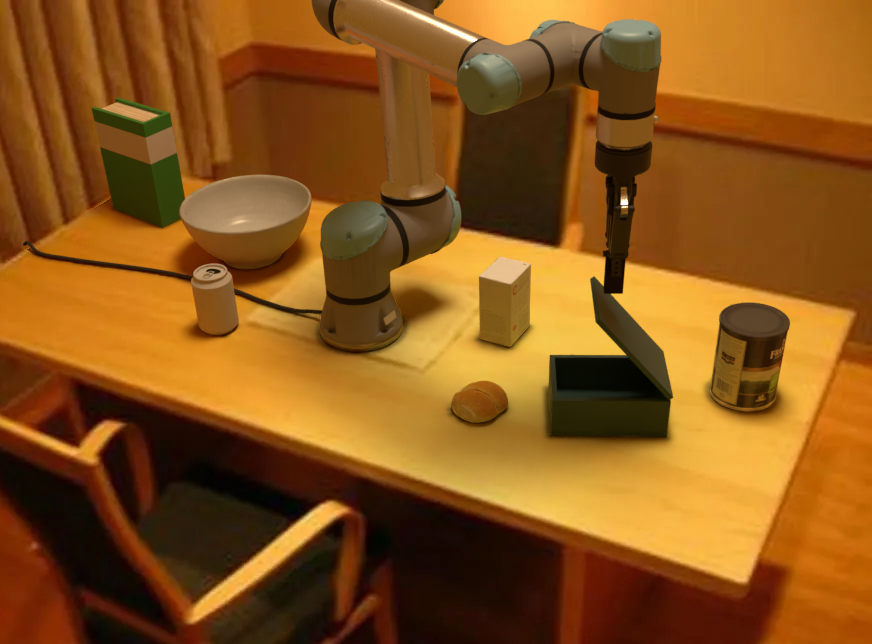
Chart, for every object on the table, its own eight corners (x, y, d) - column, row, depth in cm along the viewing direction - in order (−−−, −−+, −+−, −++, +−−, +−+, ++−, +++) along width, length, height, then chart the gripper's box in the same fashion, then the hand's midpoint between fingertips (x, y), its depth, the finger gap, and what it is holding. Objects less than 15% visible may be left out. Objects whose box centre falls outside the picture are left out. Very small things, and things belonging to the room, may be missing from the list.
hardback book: (113, 208, 248) (91, 108, 234) (138, 196, 252) (118, 97, 239) (162, 227, 238) (143, 124, 224) (188, 215, 242) (170, 112, 228)
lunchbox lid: (595, 322, 156) (599, 319, 155) (589, 278, 166) (594, 275, 165) (669, 400, 162) (673, 397, 162) (659, 353, 172) (663, 351, 172)
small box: (498, 318, 198) (499, 255, 190) (530, 326, 194) (532, 262, 187) (478, 339, 192) (477, 275, 185) (510, 348, 189) (511, 283, 182)
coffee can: (783, 384, 175) (797, 310, 167) (766, 418, 168) (780, 343, 160) (719, 368, 180) (730, 295, 172) (700, 401, 173) (710, 327, 165)
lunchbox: (550, 435, 168) (552, 400, 164) (548, 388, 178) (549, 354, 175) (666, 437, 166) (671, 401, 162) (657, 389, 176) (661, 355, 172)
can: (246, 320, 203) (238, 264, 196) (226, 340, 198) (217, 283, 191) (212, 313, 206) (203, 258, 199) (192, 333, 201) (181, 277, 194)
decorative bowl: (162, 264, 224) (151, 211, 217) (252, 215, 240) (245, 164, 233) (253, 300, 209) (244, 245, 202) (343, 245, 225) (338, 192, 218)
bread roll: (516, 404, 176) (517, 384, 173) (482, 430, 171) (482, 410, 168) (476, 386, 181) (476, 366, 178) (442, 411, 175) (441, 391, 173)
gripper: (658, 159, 140) (643, 314, 154) (647, 121, 151) (634, 269, 164) (599, 160, 141) (590, 314, 155) (592, 122, 152) (584, 269, 165)
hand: (613, 291), depth 159 cm, fingers closed
